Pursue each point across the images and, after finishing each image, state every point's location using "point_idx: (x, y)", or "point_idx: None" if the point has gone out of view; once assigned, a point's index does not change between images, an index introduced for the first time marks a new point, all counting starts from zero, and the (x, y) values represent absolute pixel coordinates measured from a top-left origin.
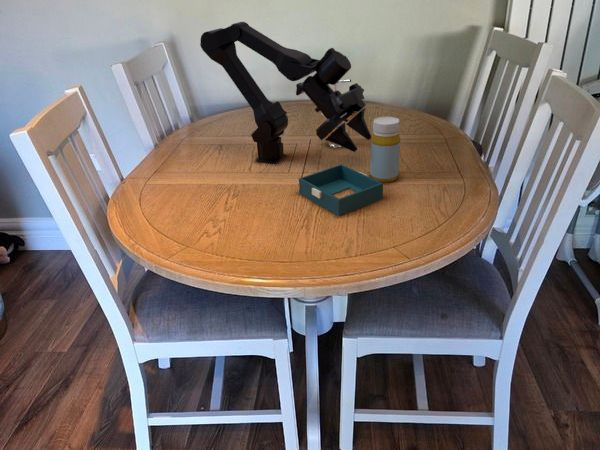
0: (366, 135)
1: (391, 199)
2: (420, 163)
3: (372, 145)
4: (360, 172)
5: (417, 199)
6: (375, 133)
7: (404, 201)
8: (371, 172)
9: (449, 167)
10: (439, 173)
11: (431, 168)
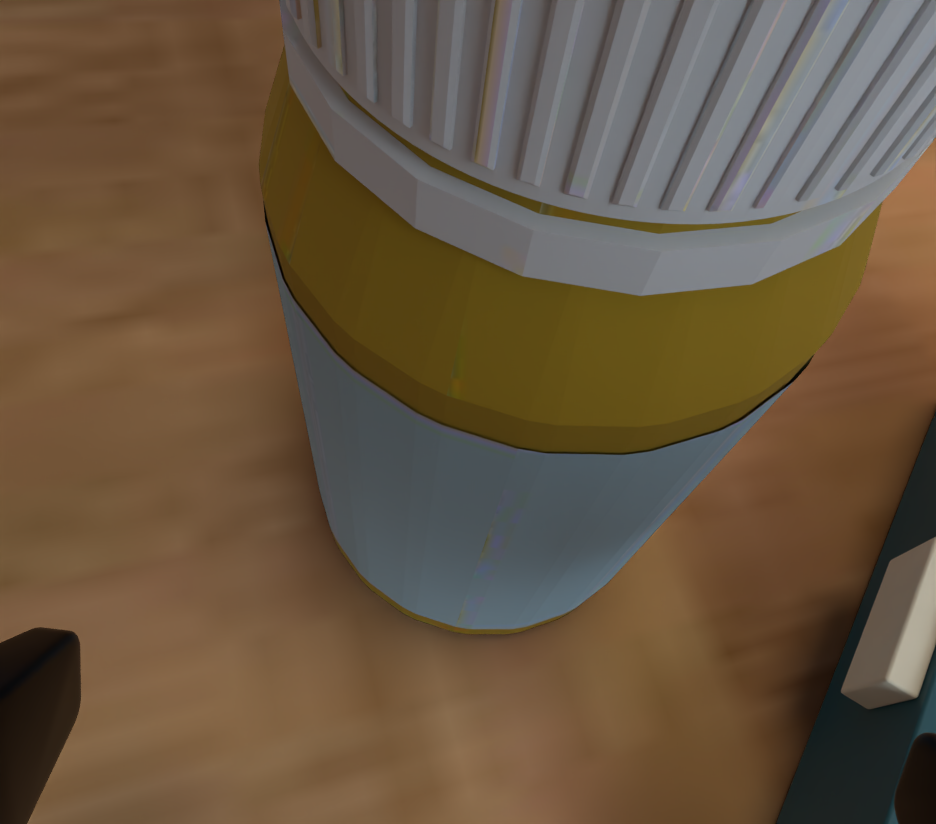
0: (17, 760)
1: (904, 332)
2: (11, 216)
3: (762, 411)
4: (906, 648)
5: None
6: (901, 177)
7: (882, 239)
8: (600, 585)
9: (95, 12)
10: (246, 67)
11: (137, 124)
